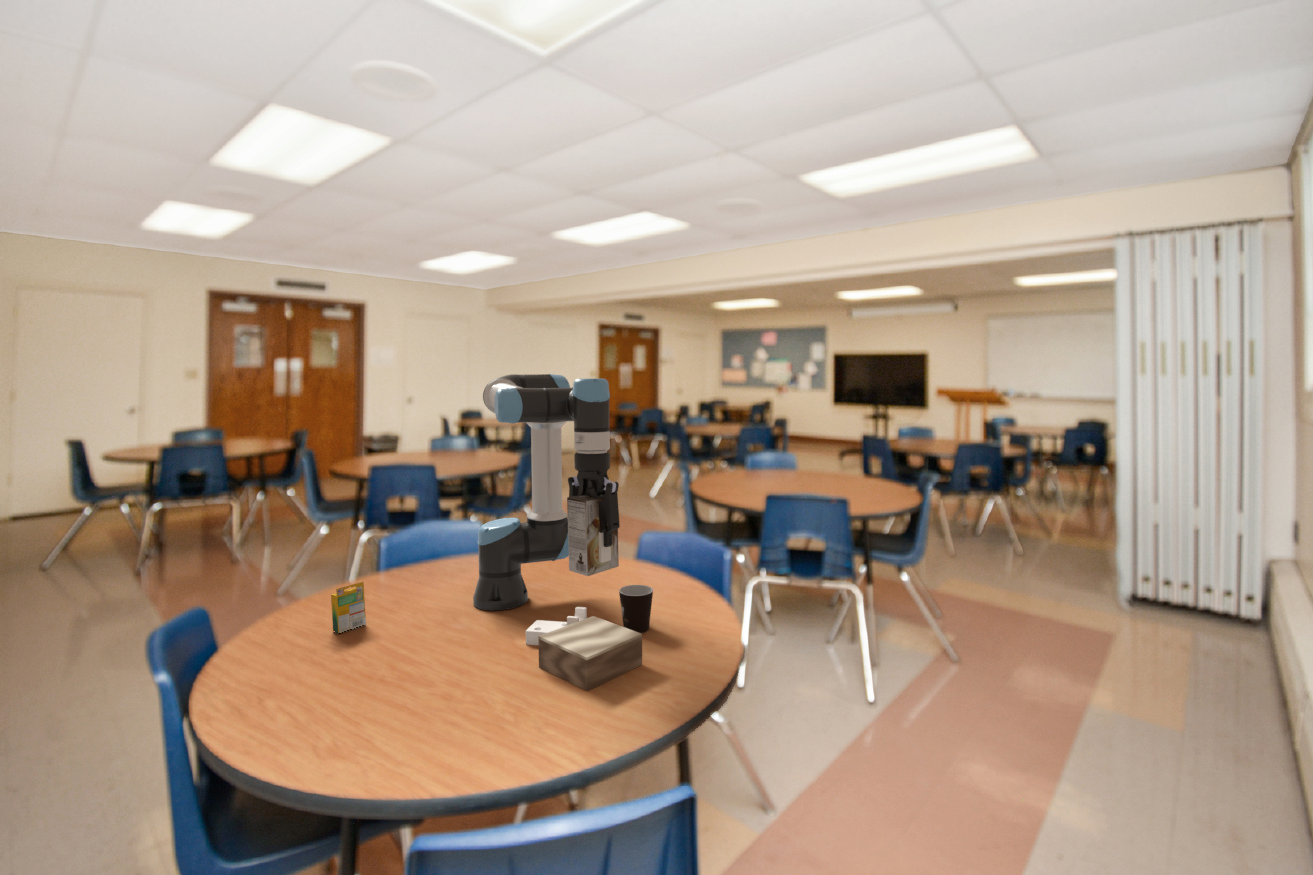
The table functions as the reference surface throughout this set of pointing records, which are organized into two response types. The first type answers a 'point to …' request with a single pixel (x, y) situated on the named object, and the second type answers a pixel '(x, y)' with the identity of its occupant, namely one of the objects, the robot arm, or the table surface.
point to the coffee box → (587, 536)
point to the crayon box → (348, 608)
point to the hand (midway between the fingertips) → (593, 557)
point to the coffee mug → (636, 607)
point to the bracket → (552, 625)
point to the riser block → (590, 652)
